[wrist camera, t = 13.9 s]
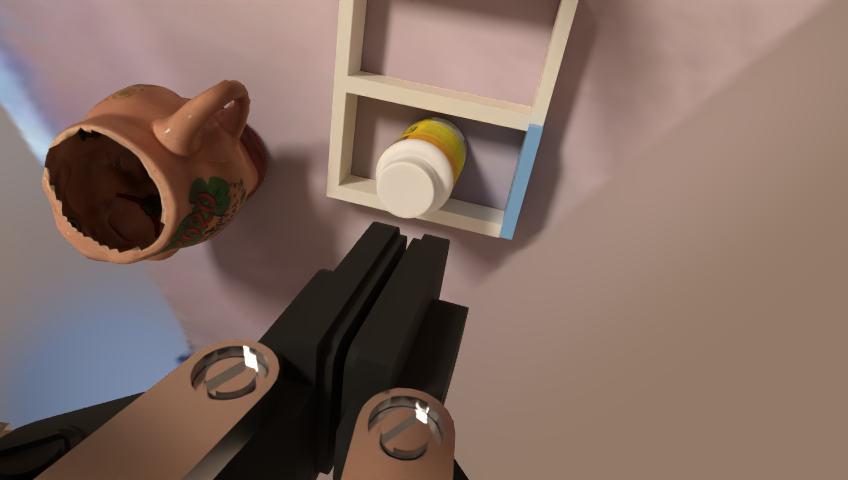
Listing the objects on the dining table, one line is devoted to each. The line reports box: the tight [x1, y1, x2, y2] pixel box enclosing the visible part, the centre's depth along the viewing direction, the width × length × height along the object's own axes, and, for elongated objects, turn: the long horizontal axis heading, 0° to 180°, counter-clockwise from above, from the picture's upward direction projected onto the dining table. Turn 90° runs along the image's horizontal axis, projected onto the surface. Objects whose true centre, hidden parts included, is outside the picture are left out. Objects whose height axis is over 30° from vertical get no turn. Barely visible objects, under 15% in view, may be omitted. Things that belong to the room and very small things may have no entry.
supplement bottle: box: [376, 117, 467, 218], centre depth 36 cm, size 6×6×10 cm
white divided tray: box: [326, 0, 579, 240], centre depth 37 cm, size 16×19×4 cm
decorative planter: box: [42, 80, 267, 264], centre depth 38 cm, size 20×12×14 cm, turn 137°
